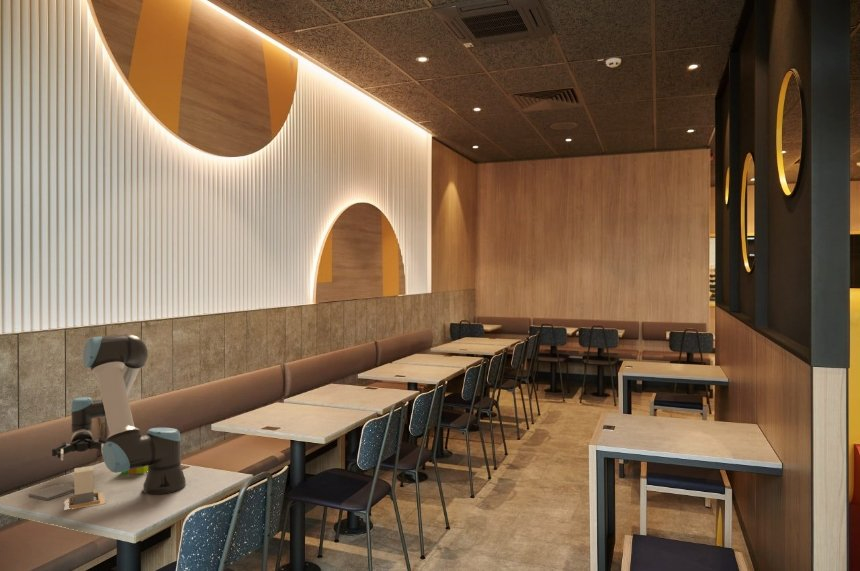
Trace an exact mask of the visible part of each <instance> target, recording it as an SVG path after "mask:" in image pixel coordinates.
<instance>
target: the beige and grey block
mask: <svg viewBox="0 0 860 571" xmlns="http://www.w3.org/2000/svg"><path fill="white" fill-rule="evenodd" d="M73 474H74V475H73V477H74V479H73V480H74V482H73V483H74V488H75V491H74V496H75V499H74V505H75V504H81V503H86V502H92V501H95V496H94V493H95V492H94V491H95V486H94V485H95V484H94V481H95V480H94V477H95V476H94V465H89V466H82V467H75V468H73Z"/></svg>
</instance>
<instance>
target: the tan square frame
mask: <svg viewBox="0 0 860 571" xmlns="http://www.w3.org/2000/svg"><path fill="white" fill-rule="evenodd" d="M102 494H104V492H97V491H96V492H94V497H97V500H94V501H92V502H86V503H81V504H75V503H74V504H71V501H73V500H72V499H74V500H75V495H74V496H70V497H68V499H69V502H68V503H69V508H70V509H72V508H74V509H73V510H76V509H77V508H78V509H84V508H87V507H88V508H89V507H94V506H100V505H105V504H106V502H105V495H102ZM78 509H77V510H78Z"/></svg>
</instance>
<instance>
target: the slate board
mask: <svg viewBox="0 0 860 571" xmlns="http://www.w3.org/2000/svg"><path fill="white" fill-rule="evenodd" d="M72 491H74V492H75V487H73V486H68V485H63V484H55V485H51V486H48V487H45V488H42V489H38V490H36V491H33V492H31V493H28V497H29V498H35V499H39V500H43V499H44V501H51V500H54V499H56V497H57V498H60V497H62V496H61V495H63V496H64V494H65V495H68V494H70V493H69V492H71V493H73V492H72ZM67 493H68V494H67ZM59 496H60V497H59ZM53 498H54V499H53ZM50 499H51V500H50Z"/></svg>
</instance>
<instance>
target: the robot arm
mask: <svg viewBox="0 0 860 571" xmlns="http://www.w3.org/2000/svg"><path fill="white" fill-rule="evenodd" d="M148 356H149V350H148V347H147V345H146V343H145V342H144V341H143V339H141V338H140V337H139V336H137V335H134V334H127V333H126V334H125V333H124V334H117V335H116V334H115V335H114V334H113V335H99V336H94V337H90V338H88V339H87V340H86V342H85V343H84V346H83V351H82V363H83V365H84V367H85V368H90V370H91V374H93V375H95V376H96V377H97V382H98V386H99V391H100V395H101V399H97V400H93V399H92V397H88V396H84V397H83V396H82V397H76V398H74V399H73V400H72V401H71V409H70V413H71V416H70V417H71V428H70V429H71V432H70V434H71V435H70V437H71V442H70V443H67V442H62V443H61V444H60V445H58V446H56V447H54V448H53V449H51V456H52V457H56V456H57V458H58V459H59V458H60V461H61V462H62V461H64V455H65V454H68V453H72V452H79V453H80V452H86V451H88V450H93V449H96V450H100V451H101V455H102V459H103V461H104V464H105V466H106V468H107V470H109V471H110V472H112V473H115V474H116V473H117V474H118V473H121V472H123V471H124V472H126V471H128V470H131V469H135V468H140V467H144V466H148V472H146V477H145V481H144V483H143V485H142V486H143V488H142V489H143V493H145V494H147V495H163V494H164V495H165V494H170V493H175V492H177V491H180V490H183V489H184V488H185V487H186V486H187V483H186V482H187V481H186V480H187V479H186V477H185V474H184V472H183V468H182V466H181V461H182V460H181V458H182V457H181V442H182V439H181V433H180V430H178V429H177V428H174V427H172V428H171V427H152V428H149V429H148V430H147V432H146V433H147V434H141V429H139V428H138V427H136V426H135V424H134V419H133V418H134V417H133V415H132V413H133V412H132V409H131V405H130V401H129V397H128V396H129V394H130V392H131V390H132V387H133V385H134V383H135V381H136V378H137V376H138V374H139V372H140V370H141V369H142V368H143V367H144V366H145V364H146V362H147V360H148V358H149V357H148ZM104 417H105V419H106V423H107V428H108V431H109V433H108V436H107V437H106V438H105V439H104V438H101V437H100V438H98V439H96V440H94V439H93V420H94V419H99V418H104Z"/></svg>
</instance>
